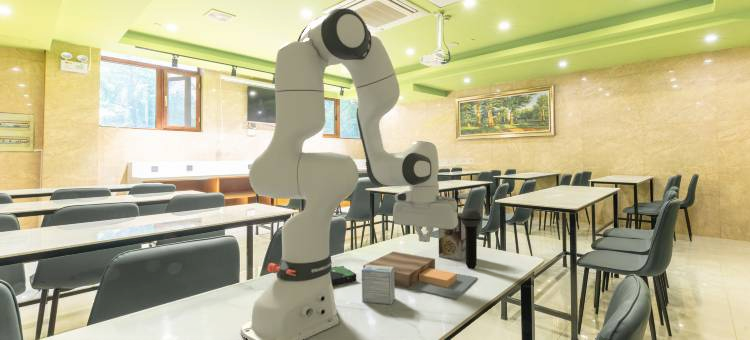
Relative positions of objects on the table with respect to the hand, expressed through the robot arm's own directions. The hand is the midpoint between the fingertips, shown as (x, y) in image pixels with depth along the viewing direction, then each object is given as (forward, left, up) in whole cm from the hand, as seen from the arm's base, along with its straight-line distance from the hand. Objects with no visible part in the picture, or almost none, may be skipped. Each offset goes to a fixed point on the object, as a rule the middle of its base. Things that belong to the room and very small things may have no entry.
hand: (424, 241), depth 103 cm
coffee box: (+28, +2, -12) cm, 30 cm away
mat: (+1, -6, -12) cm, 13 cm away
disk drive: (-16, +25, -13) cm, 32 cm away
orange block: (+1, -4, -12) cm, 12 cm away
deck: (+1, +9, -12) cm, 15 cm away
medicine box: (-19, +4, -12) cm, 23 cm away
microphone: (+19, -8, -12) cm, 24 cm away
